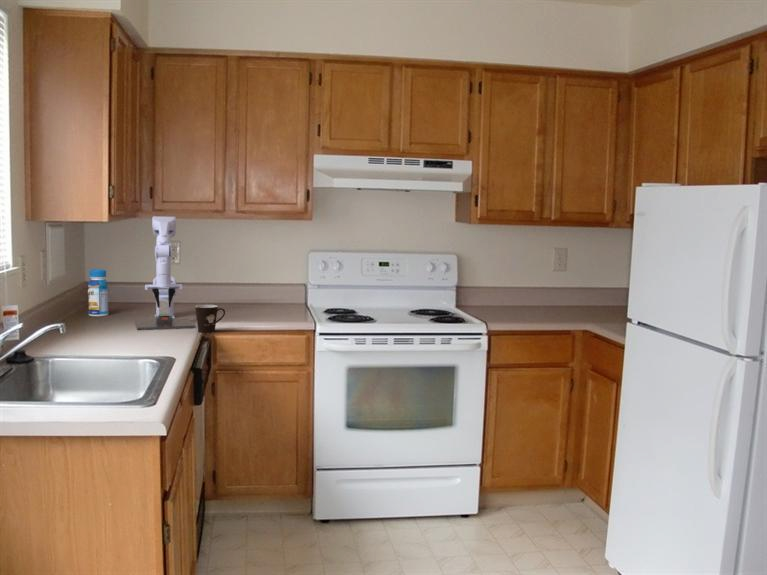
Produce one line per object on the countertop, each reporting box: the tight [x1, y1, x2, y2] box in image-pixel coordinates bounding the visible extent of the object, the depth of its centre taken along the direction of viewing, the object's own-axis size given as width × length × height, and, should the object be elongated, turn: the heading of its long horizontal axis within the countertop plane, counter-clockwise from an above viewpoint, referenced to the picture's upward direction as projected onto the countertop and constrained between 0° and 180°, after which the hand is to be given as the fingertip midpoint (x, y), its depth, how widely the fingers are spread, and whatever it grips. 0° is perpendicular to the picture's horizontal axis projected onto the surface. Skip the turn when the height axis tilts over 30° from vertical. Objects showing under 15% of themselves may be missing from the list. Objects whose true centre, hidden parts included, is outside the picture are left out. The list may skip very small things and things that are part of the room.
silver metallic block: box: [159, 300, 169, 316], centre depth 306 cm, size 4×4×6 cm
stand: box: [133, 315, 196, 331], centre depth 306 cm, size 22×22×4 cm
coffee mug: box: [194, 304, 226, 334], centre depth 293 cm, size 12×9×10 cm
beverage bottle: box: [87, 268, 109, 317], centre depth 327 cm, size 8×8×20 cm
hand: (163, 307), depth 306 cm, fingers closed on silver metallic block, 4 cm apart
